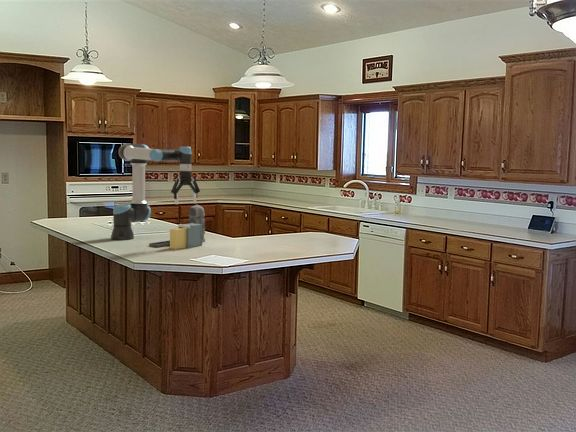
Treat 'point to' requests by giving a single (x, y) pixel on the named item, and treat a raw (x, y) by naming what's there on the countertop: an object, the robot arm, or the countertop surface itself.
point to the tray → (160, 244)
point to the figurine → (197, 217)
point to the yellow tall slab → (178, 238)
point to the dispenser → (193, 234)
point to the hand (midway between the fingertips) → (185, 203)
